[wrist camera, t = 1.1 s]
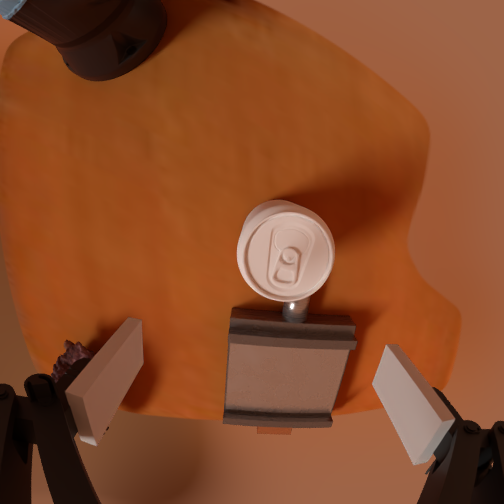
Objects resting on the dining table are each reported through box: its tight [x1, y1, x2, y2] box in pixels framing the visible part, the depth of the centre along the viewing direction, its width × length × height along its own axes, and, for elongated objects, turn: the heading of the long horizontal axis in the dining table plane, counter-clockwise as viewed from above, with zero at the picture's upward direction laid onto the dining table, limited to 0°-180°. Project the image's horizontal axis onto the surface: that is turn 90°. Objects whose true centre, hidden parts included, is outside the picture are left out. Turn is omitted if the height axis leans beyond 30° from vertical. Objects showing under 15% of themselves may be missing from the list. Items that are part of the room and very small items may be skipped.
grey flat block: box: [223, 295, 357, 434], centre depth 36 cm, size 23×15×4 cm, turn 175°
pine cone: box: [51, 340, 109, 435], centre depth 35 cm, size 18×10×10 cm, turn 178°
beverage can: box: [237, 200, 335, 302], centre depth 29 cm, size 8×8×12 cm
